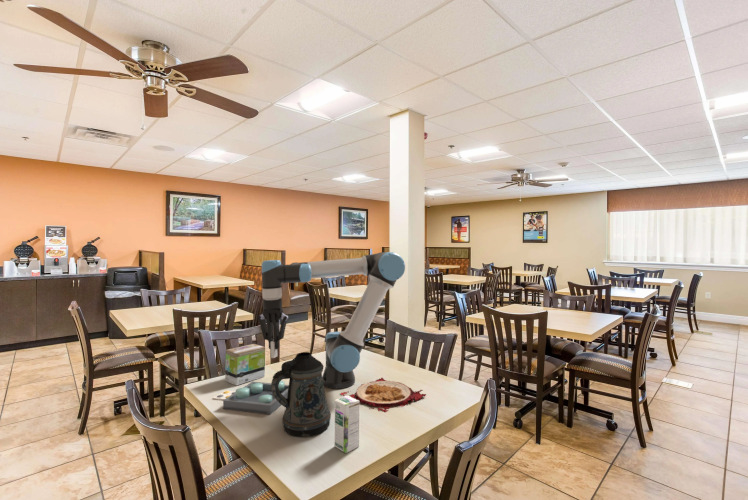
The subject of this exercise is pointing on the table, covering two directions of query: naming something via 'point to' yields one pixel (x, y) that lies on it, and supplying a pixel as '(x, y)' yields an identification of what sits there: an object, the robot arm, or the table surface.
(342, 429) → the syrup box
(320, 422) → the beer stein
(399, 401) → the plate with food
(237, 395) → the button
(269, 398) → the button
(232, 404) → the button board
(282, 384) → the button
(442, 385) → the table surface
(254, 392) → the button
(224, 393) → the card
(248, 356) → the tea box
